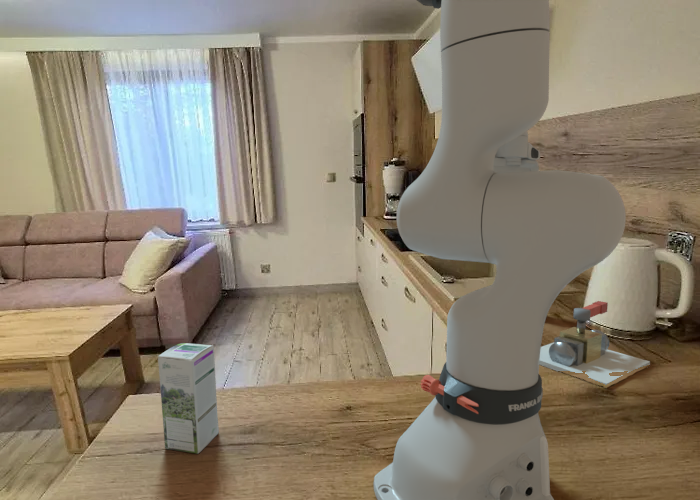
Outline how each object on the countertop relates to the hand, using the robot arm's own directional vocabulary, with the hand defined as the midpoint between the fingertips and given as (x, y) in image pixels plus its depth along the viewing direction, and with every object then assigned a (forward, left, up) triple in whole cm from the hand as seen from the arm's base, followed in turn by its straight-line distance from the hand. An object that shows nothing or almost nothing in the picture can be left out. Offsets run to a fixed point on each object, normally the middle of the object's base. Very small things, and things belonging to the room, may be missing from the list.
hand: (504, 211), depth 93 cm
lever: (+13, -15, -24) cm, 30 cm away
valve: (+8, -15, -33) cm, 37 cm away
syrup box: (-71, +1, -33) cm, 78 cm away
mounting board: (+8, -16, -33) cm, 38 cm away
